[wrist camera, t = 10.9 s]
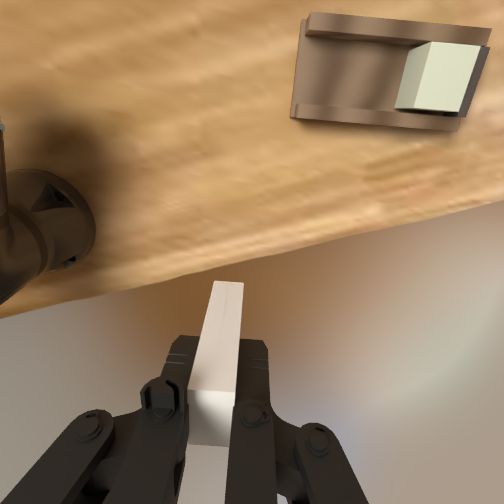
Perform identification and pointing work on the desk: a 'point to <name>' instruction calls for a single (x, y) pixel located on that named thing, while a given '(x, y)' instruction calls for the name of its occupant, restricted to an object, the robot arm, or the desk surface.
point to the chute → (371, 69)
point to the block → (436, 77)
